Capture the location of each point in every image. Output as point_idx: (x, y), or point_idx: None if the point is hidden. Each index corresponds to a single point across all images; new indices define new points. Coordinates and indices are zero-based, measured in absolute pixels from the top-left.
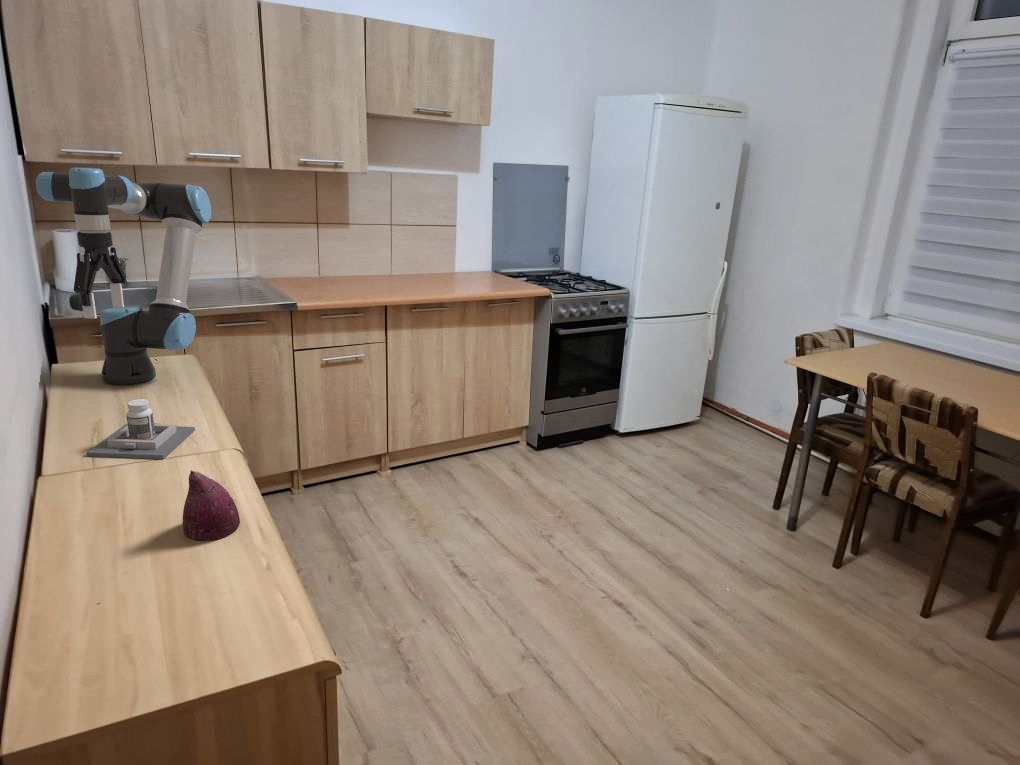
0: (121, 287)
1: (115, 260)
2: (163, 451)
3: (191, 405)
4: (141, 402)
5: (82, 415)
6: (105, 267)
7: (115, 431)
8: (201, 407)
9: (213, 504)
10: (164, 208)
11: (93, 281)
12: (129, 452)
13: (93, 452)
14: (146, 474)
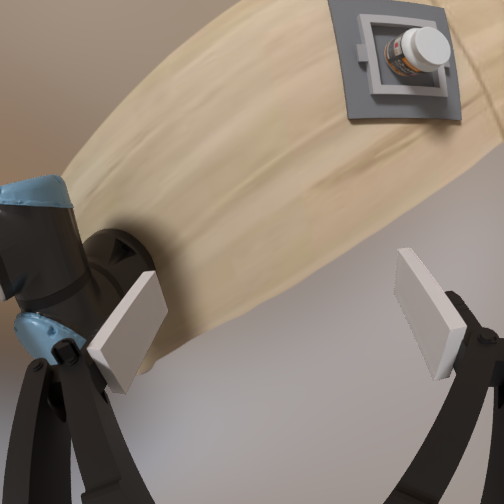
0: (99, 333)
1: (31, 486)
2: (433, 11)
3: (204, 68)
4: (432, 39)
5: (307, 227)
6: (143, 494)
7: (384, 117)
8: (209, 45)
9: None
10: None
11: (449, 399)
12: (450, 57)
13: (460, 109)
14: (481, 20)
